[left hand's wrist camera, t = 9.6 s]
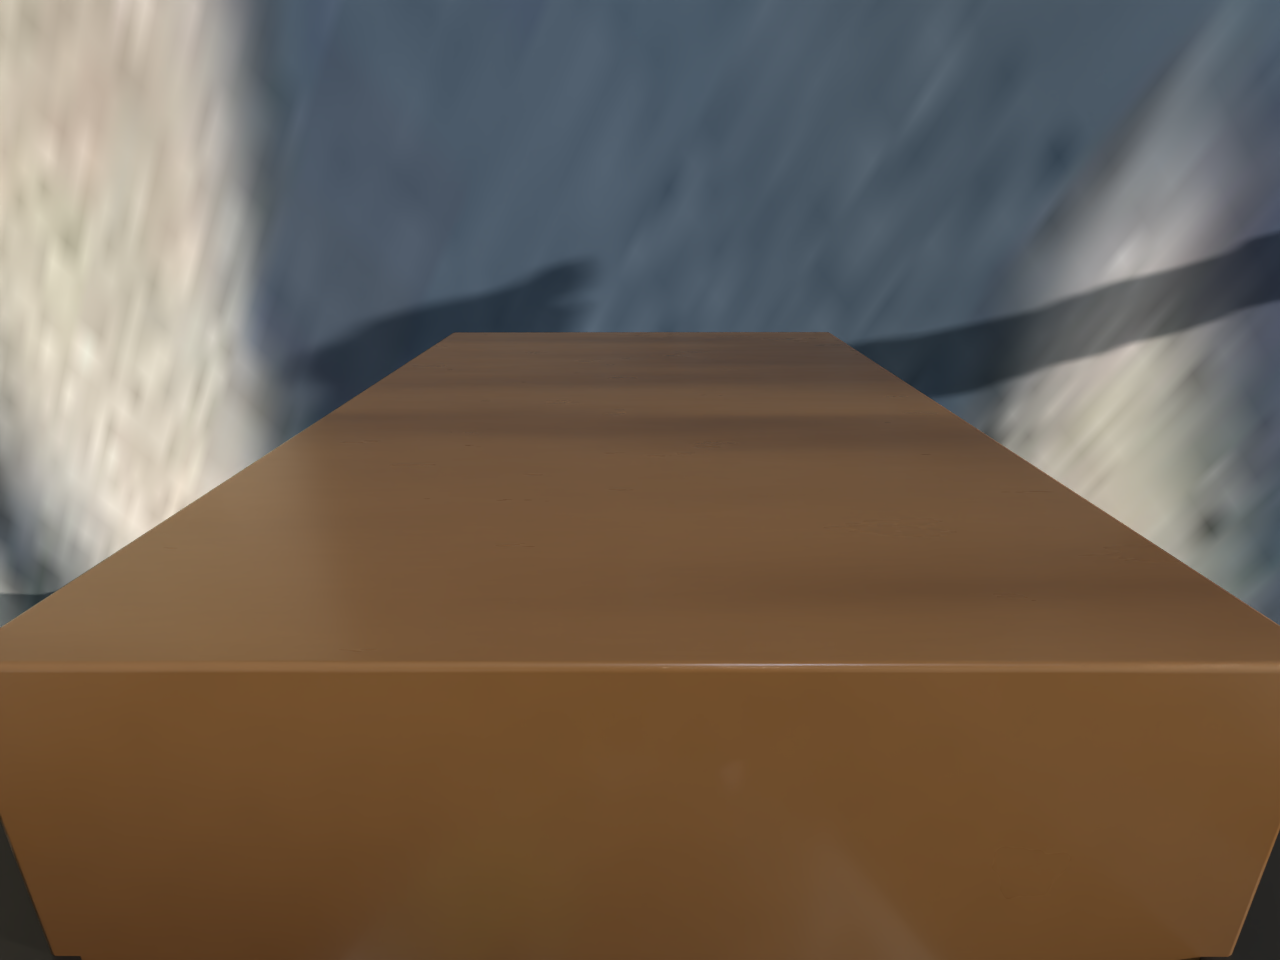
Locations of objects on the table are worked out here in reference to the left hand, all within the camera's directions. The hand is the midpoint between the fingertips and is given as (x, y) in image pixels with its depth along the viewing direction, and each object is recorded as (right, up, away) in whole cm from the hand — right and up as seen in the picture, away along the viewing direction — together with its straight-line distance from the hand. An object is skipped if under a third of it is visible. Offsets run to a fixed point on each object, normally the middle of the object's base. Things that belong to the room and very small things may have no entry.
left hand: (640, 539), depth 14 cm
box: (0, -6, +5) cm, 8 cm away
